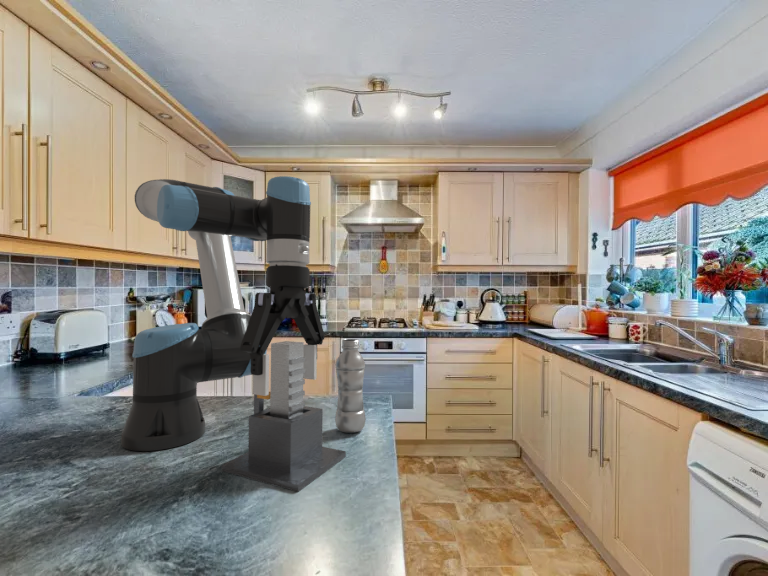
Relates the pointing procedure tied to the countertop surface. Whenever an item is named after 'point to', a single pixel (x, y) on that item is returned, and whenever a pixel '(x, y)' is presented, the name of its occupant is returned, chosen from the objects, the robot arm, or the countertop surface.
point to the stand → (284, 449)
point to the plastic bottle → (350, 388)
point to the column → (287, 379)
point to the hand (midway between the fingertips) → (287, 386)
